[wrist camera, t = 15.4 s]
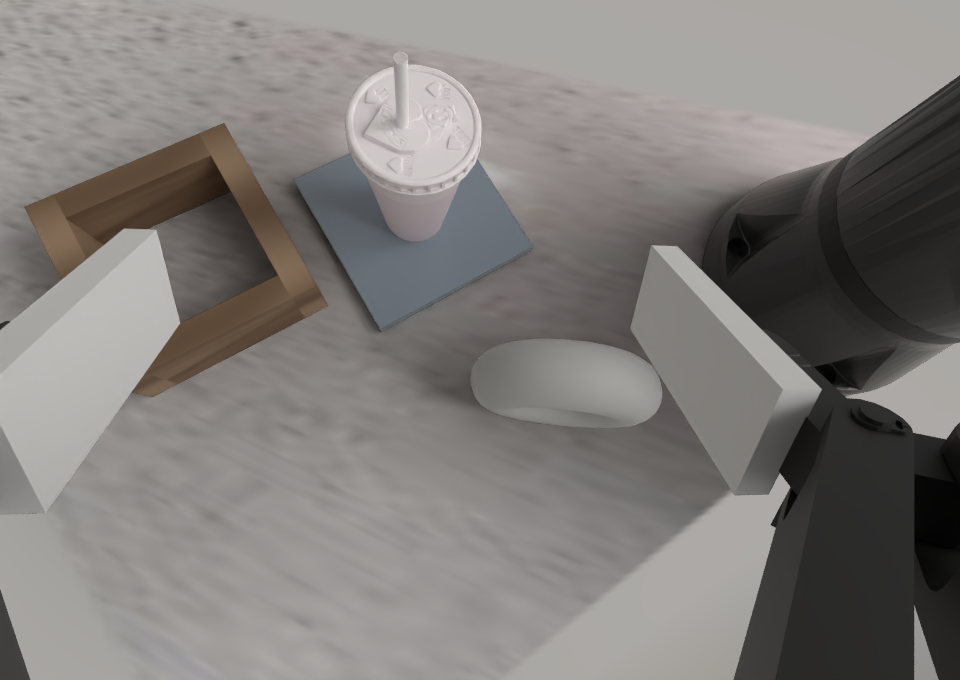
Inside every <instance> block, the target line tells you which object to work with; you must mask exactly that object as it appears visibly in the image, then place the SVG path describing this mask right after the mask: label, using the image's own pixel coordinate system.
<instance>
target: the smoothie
mask: <svg viewBox="0 0 960 680" xmlns="http://www.w3.org/2000/svg"><path fill="white" fill-rule="evenodd" d="M393 60H394V66H393V67H389V68H386V69H383V70H381V71H379V72H377V73H375V74H373V75H372V76H370V77H369V78H367V79H366V80H365V81H364V82H363V83H362V84H361V85H360V86H359V87H358V88H357V89H356V91H355V92H354V93H353V95H352V97H351V99H350V101H349V104H348V107H347V110H346V116H345V128H346V138H347V143H348V149H349V152H350V154H351V156H352V158H353V160H354V162H355V164H356V165H357V167H358V168H359V169H360V170H361V171H362V172H363V173H364V174H365V175H366V177H367V178H368V181H369V183H370V185H371V188H372V190H373V192H374V195H375V197H376V199H377V202H378V204H379V206H380V209H381V211H382V214H383V216H384V218H385V221H386V223H387V225H388V227H389V229H390V230H391V231H392V232H393V233H394V234H395V235H396V236H398V237H399V238H401V239H403V240H406V241H411V242H419V241H424V240H427V239H429V238H431V237H432V236H434V235H435V234H436V233H437V232H438V230H439V229H440V227H441V225H442V223H443V221H444V218H445V216H446V214H447V211H448V209H449V207H450V204H451V202H452V200H453V198H454V195H455V193H456V191H457V188H458V186H459V184H460V181H461V180H462V179H463V178H465V177H466V175H467V174H468V173H469V171H470V170H471V169H472V167H473V166H474V165H475V163H476V160H477V157H478V154H479V152H480V148H481V134H482V123H481V117H480V113H479V110H478V107H477V105H476V103H475V101H474V99H473V97H472V96H471V95H470V93H469V92H468V91H467V90H466V88H465V87H464V86H463V85H462V84H460V83H459V82H458V81H457V80H456V79H454V78H453V77H451V76H450V75H448V74H446V73H444V72H442V71H439V70H437V69H434V68H431V67H427V66H421V65H408V56H407V55H406V54H405V53H404V52H397V53H395V54H394V57H393Z"/></svg>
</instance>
